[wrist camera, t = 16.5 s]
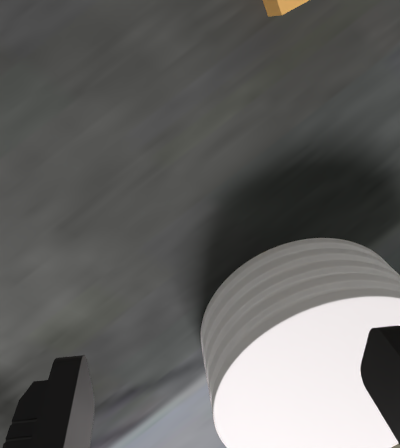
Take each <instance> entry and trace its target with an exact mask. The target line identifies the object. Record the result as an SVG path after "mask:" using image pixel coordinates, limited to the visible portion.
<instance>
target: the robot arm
mask: <svg viewBox="0 0 400 448" xmlns="http://www.w3.org/2000/svg"><path fill="white" fill-rule="evenodd" d="M360 371H361V377H362V381H363V384H364V386H365V388H366V390H367V391H368V393H369V395H370V396H371V398H372V400H373V401H374V403H375V405H376V406H377V408H378V410H379V411H380V413H381V415H382V416H383V418H384V420H385V421H386V423H387V424H388V426H389V428H390V429H391V431H392V433H393V434H394V436H395V438H396V439H397V441H398V443H399V444H400V326H398V325H397V326H387V327H377V328H372V329H371V330H370V331H369V334H368V338H367V342H366V346H365V350H364V354H363V358H362V362H361V367H360ZM94 410H95V402H94V392H93V387H92V382H91V378H90V373H89V368H88V363H87V359H86V356H85V355H83V356H73V357H63V358H56V359H55V360H54V362H53V365H52V369H51V372H50V376H49V379H48V380H45V381H35V382H33V383H32V385H31V386H30V387H29V388H28V390H27V391H26V392H25V394H24V395H23V396H22V397H21V399H20V400H19V402H18V405H17V408H16V411H15V414H14V417H13V419H12V425H10V428H9V431H8V434H7V436H6V442H5V443H4V445H3V448H90V442H91V435H92V428H93V421H94Z"/></svg>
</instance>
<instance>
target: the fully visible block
mask: <svg viewBox="0 0 400 448" xmlns="http://www.w3.org/2000/svg"><path fill="white" fill-rule="evenodd" d="M307 1H309V0H263V3H264V6H265V9H266V12H267V15H268V17H269V16H278V15H283V14H285V13H287V12H288V11H290V10H292V9H294V8H296V7H298V6H300V5H301V4H303V3H305V2H307Z"/></svg>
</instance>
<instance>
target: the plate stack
mask: <svg viewBox="0 0 400 448" xmlns="http://www.w3.org/2000/svg"><path fill="white" fill-rule="evenodd" d="M397 325H398V326H400V275H399V274H398V273H397V272H396V271H395V270H394V269H393V268H392V267H390V265H389V264H388V263H387V262H386V261H385V260H384V259H382V258H381V257H380V256H379V255H378V254H376V253H375V252H374V251H372V250H370V249H369V248H367V247H365V246H362V245H360V244H357V243H354V242H351V241H347V240H342V239H335V238H311V239H303V240H298V241H293V242H289V243H286V244H283V245H280V246H277V247H274V248H272V249H269V250H267V251H265V252H263V253H261V254H259V255H257V256H255V257H254V258H252V259H251V260H249V261H247V262H246V263H245V264H243V265H242V266H240V267H239V268H238V269H237V270H235V271H234V272H233V273H232V274H231V275H230V276H229V277H228V278H227V279H226V280H225V281H224V282H223V283H222V284H221V286H220V287H219V288H218V289H217V291H216V292H215V294H214V295H213V297H212V298H211V300H210V302H209V304H208V306H207V308H206V311H205V313H204V316H203V320H202V325H201V334H200V337H201V347H202V353H203V359H204V365H205V370H206V377H207V383H208V387H209V395H210V401H211V405H212V413H213V419H214V424H215V428H216V431H217V433H218V435H219V437H220V439H221V440H222V442H223V443H224V445H225V446H226V447H227V448H391V447H393V446H395V445H396V444H398V441H397V439H396V438H395V436H394V434H393V433H392V431H391V429H390V428H389V426H388V424H387V423H386V421H385V420H384V418H383V416H382V415H381V413H380V411H379V410H378V408H377V406H376V405H375V403H374V401H373V400H372V398H371V396H370V395H369V393H368V391H367V390H366V388H365V386H364V384H363V381H362V377H361V371H360V367H361V362H362V358H363V354H364V350H365V346H366V342H367V338H368V334H369V331H370V330H371V329H372V328H377V327H387V326H397Z"/></svg>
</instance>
